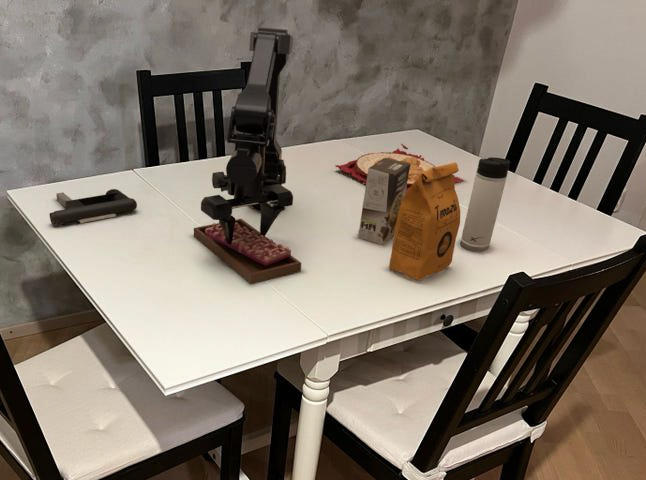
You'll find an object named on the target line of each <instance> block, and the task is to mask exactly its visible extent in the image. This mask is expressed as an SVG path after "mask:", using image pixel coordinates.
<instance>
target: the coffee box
mask: <svg viewBox="0 0 646 480" xmlns="http://www.w3.org/2000/svg"><path fill="white" fill-rule="evenodd" d="M410 165H411V164H410V163H406V162H402V161H397V160H391V159H387V158H384V159H382V160H381V161H379V162H378V163H376V164H374V165H373V166H371V167H370V168H368V175H367V181H366V184H365V189H364V196H363V201H362V210H361V214H360V215H361V216H360V222H359V229H358V234H357V238H359V239H362V240H364V241H367V242H368V241H369V242H372V243H373V244H374V243H375V244H377V245H381V246H383V245H385V244H386V243H387V242H388V241H390V240H391V239H392V238H394V232H395V226H396V222H397V217H398V213H399V209H400V206H401V202H402V200H403V197H404V195H405V193H406V187H407V181H408V176H409V170H410Z"/></svg>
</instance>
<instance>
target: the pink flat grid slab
mask: <svg viewBox="0 0 646 480" xmlns="http://www.w3.org/2000/svg"><path fill="white" fill-rule="evenodd" d="M218 223H219V225H217V223H215V222H213V223H212V227H210V228H207V229H205V235H207V236H209V237H211V238H212V239H214V240H216V241H218V242H220V243H222V244H224V245H226V246H228V247H230V248H232V249H234V250H236V251H238V252H239V253H241V254H243V255H245V256H247V257H249V258H251V259H253V260H255V261H257V262H259V263H261V264H263V265H265V266H267V265H269V264H272V263H274V262H277V261H279V260H282V259H284V258H287V257H290V256H292V249H290V248H289V247H288V246H286V247H285V246H283V244H281V243H278V244H276V242H275V241H274V240H273V239H270V238H269V239H270V240H269V241H267V240H266V238H265V237H264V236H263V235H260V237H259V236H257V235H258V234H257V233H255V231H251V232H249V229H247V227H243V228H241V225H239V223H235V226H234V233H233V240H232V243H231V245H229V244H228V243H227V241H226V238H225V235H224V232H223V229H222V226H221V224H220V222H219V221H218Z"/></svg>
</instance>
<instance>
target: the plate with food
mask: <svg viewBox="0 0 646 480" xmlns="http://www.w3.org/2000/svg"><path fill="white" fill-rule="evenodd" d="M400 146H402V149H404V150H400V148H397V149H395V150H393V151H392V152H391V151H388V152H384V151H382V152H372V153H371V152H370V153H367V154H366V153H364V154H362V155H361V156H359V157H357V158H356V159H354V160H350V161H348V162H347V163H345V164H340V165H339V164H335V165H334V166H335V168H338V170H342V171H343V172H345V173H347V174H349V175H350V176H351V177H354V178H356V179H358V180H360V181H363V182H362V184H363V185H366V181H367V175H368V168H370V167H371V166H373V165H374V164H376V163H378V162H379V161H381V160H382V159H384V158H387V159H391V160H397V161H402V162H406V163H410V164H411V165H410V170H409V176H408V181H407V187H406V192H407V190H408V189H409V188H410V187H411V186H412V184H413V183H414V182H415V181H416V180H417V178H418V177H419V175H420V174H421V173H423V172H425V171H427V170H429V169H430V168H432V167H436V166H435V165H434V164H433V163H431V162H429V161H428V160H425V157H423V156H422V155H421V154H419V155H418V154H412V153H407V152H406V151H407V150H409V147H407V146H406V145H404V144H403V143H400ZM405 150H406V151H405ZM452 175H453V177H454V183H455V184H456V183H460V182H463V181H464V179H463V178H460V177H458V176H455V174H452ZM405 194H406V193H405Z"/></svg>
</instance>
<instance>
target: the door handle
mask: <svg viewBox="0 0 646 480" xmlns="http://www.w3.org/2000/svg"><path fill="white" fill-rule="evenodd" d="M55 194H56V201H57V202H58V203H60V204H61V206H63V207H64V209H60V210H54V211H53V212H49V221H50V222H51V225H59V226H60V225H65V224H70V223H71V224H72V223H75V222H78V223H80V224H83V223H87V222H92V221H98V220H103V219H110V218H114V217H116V216H117V215H119V214H125V213H132V212H134V211H135V210H137V208H138V203H137V201H136V200H135V199H134V198H133V197H132V198H131V197H128V195H126V194H124V193H123V192H122V191H121V190H119V189H117V188H111V189H109V190H107V191H106V192H105V194H100V195H94V196H93V195H92V196H88V197H82V198H76V199H72V198H71V197H69V196H68V195H67V194H66V193H64V192H57V193H55Z"/></svg>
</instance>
